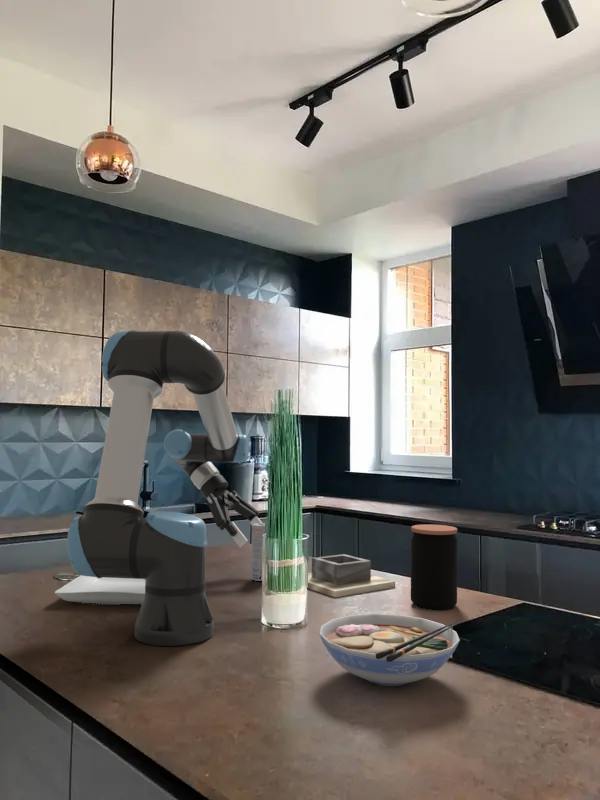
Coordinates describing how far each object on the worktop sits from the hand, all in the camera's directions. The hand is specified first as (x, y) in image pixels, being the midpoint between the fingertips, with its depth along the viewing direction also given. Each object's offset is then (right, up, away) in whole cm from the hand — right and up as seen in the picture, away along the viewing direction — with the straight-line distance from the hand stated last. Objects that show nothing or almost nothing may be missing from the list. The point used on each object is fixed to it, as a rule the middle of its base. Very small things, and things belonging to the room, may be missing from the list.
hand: (256, 540), depth 181 cm
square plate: (-30, -9, -19) cm, 36 cm away
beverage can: (+2, -10, -2) cm, 11 cm away
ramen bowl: (+26, -7, -72) cm, 77 cm away
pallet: (+23, -10, -6) cm, 25 cm away
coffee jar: (+43, -10, -26) cm, 51 cm away
